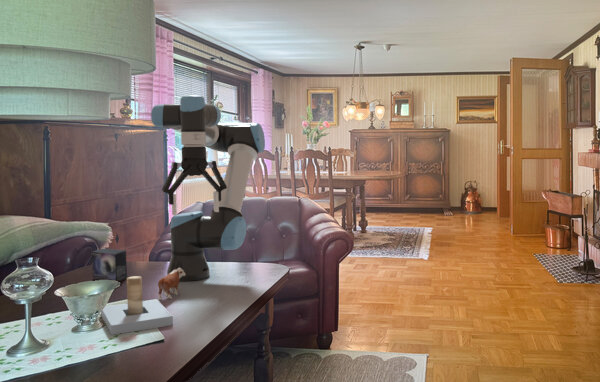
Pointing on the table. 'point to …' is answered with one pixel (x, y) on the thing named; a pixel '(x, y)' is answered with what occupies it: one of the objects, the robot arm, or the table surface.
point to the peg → (134, 295)
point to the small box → (109, 264)
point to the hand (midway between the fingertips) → (195, 213)
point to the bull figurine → (170, 282)
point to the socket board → (136, 317)
